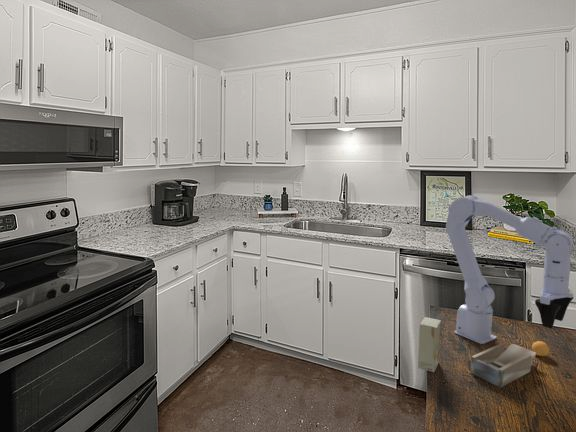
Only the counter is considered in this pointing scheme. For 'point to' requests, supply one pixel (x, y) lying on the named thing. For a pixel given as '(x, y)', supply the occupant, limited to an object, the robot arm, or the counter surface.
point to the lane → (502, 364)
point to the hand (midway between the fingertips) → (552, 323)
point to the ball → (540, 348)
